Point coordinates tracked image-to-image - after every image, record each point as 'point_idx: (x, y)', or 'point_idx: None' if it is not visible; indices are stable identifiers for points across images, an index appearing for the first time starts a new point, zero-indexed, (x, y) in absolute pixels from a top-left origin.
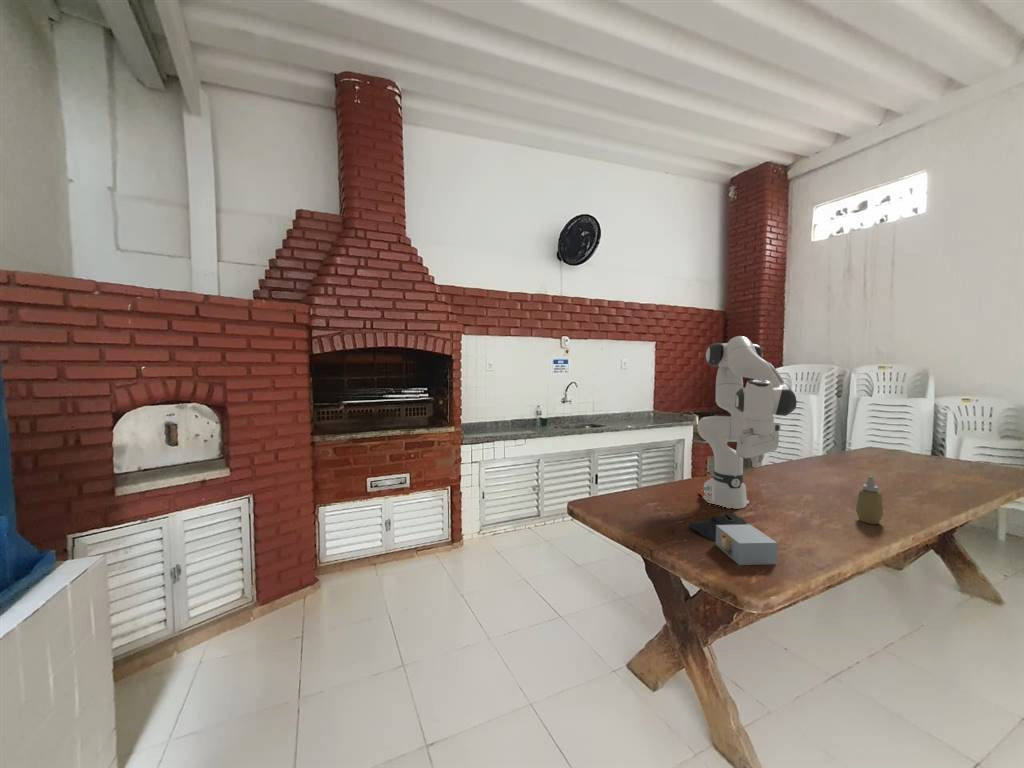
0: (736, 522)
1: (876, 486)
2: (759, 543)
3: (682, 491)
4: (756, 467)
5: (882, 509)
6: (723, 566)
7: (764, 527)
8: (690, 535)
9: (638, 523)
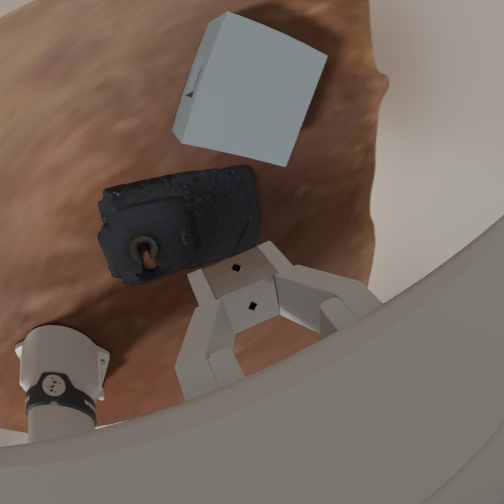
0: (133, 230)
1: None
2: (277, 31)
3: (126, 398)
4: (269, 242)
5: None
6: (327, 67)
7: (48, 220)
8: (274, 207)
9: None
